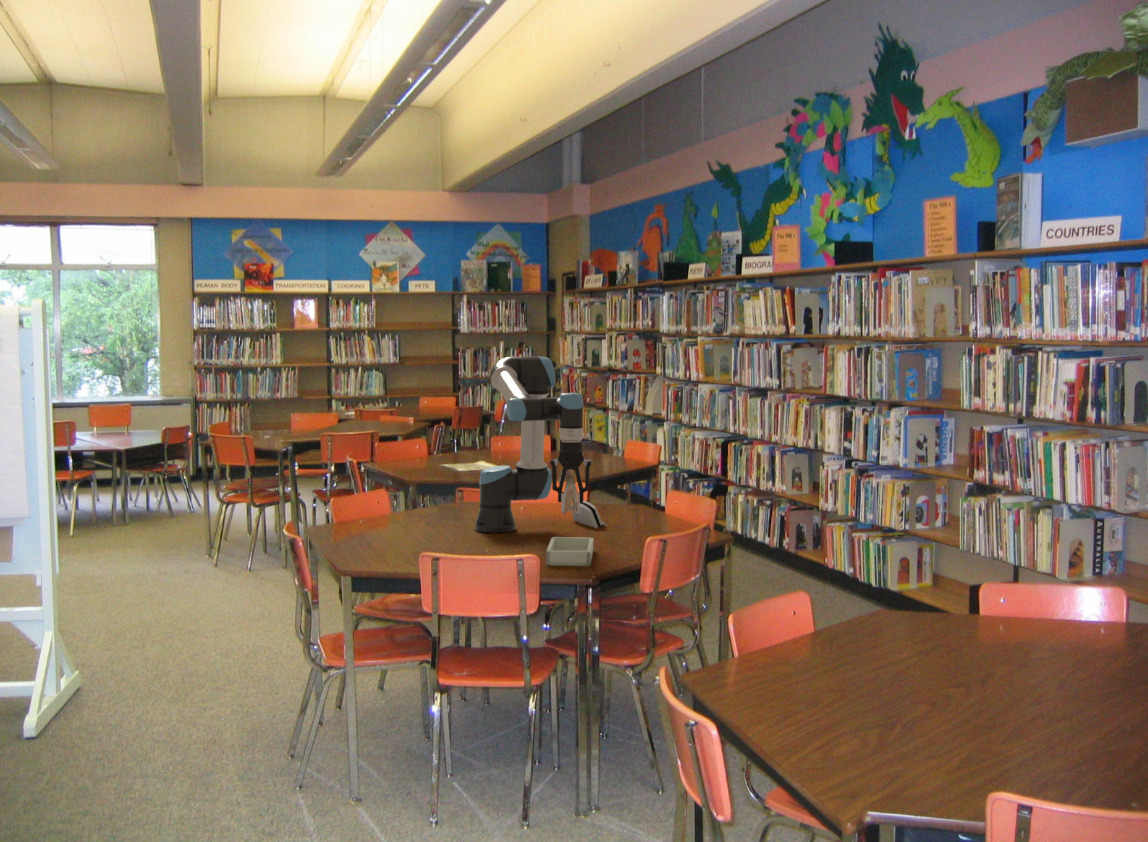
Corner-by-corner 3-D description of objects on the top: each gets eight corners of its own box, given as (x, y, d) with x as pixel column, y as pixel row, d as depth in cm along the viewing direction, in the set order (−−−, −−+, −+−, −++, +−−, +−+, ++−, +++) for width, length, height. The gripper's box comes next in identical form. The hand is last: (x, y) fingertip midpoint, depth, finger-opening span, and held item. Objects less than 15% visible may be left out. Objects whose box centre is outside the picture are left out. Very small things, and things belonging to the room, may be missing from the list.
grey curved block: (606, 526, 369) (599, 503, 367) (596, 532, 367) (589, 508, 365) (584, 519, 384) (577, 496, 381) (574, 524, 382) (567, 501, 379)
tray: (546, 565, 307) (546, 551, 307) (551, 550, 329) (552, 536, 329) (590, 566, 306) (590, 552, 306) (593, 550, 328) (593, 537, 328)
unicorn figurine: (572, 506, 327) (570, 467, 326) (588, 516, 309) (587, 474, 307) (551, 508, 325) (549, 469, 324) (567, 518, 307) (565, 476, 305)
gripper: (543, 441, 311) (542, 513, 313) (597, 442, 310) (597, 514, 312) (545, 439, 319) (544, 509, 321) (598, 440, 317) (597, 510, 320)
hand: (570, 512), depth 316 cm, fingers closed on unicorn figurine, 4 cm apart
